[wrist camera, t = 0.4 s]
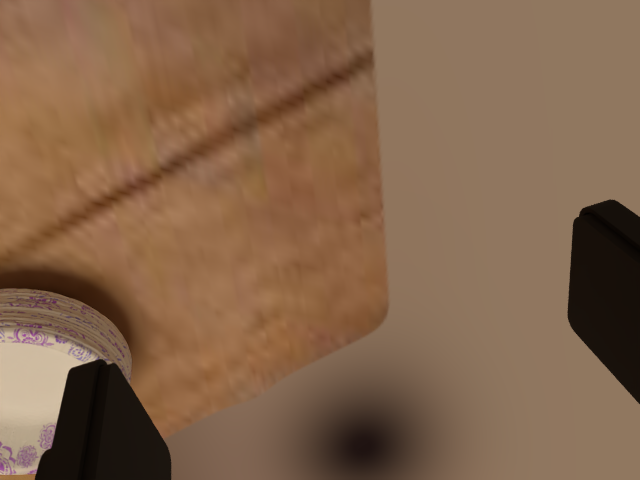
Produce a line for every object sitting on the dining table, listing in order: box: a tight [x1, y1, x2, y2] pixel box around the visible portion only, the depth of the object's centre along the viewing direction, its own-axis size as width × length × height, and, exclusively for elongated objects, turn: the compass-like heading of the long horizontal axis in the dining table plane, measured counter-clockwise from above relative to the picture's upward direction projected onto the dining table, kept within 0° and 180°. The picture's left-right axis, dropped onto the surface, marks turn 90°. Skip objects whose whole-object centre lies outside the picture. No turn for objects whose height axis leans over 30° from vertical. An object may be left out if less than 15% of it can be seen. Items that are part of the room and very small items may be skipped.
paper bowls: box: [0, 288, 132, 475], centre depth 43 cm, size 15×15×8 cm
